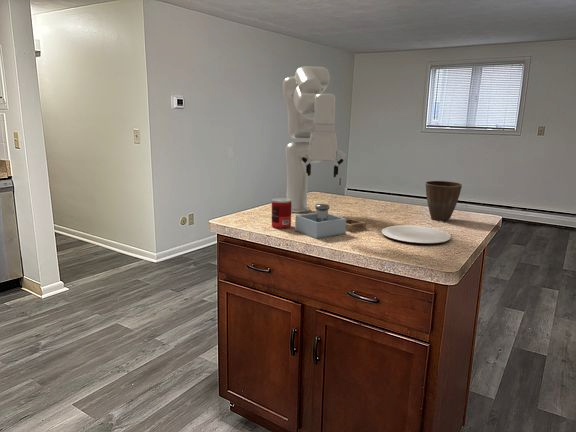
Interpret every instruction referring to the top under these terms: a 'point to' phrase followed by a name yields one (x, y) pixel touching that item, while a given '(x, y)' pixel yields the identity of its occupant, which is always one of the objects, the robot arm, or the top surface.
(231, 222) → the top surface
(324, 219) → the peg
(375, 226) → the top surface
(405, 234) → the plate
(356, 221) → the socket block
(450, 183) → the plant pot
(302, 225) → the bin
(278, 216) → the canned food
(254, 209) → the top surface
